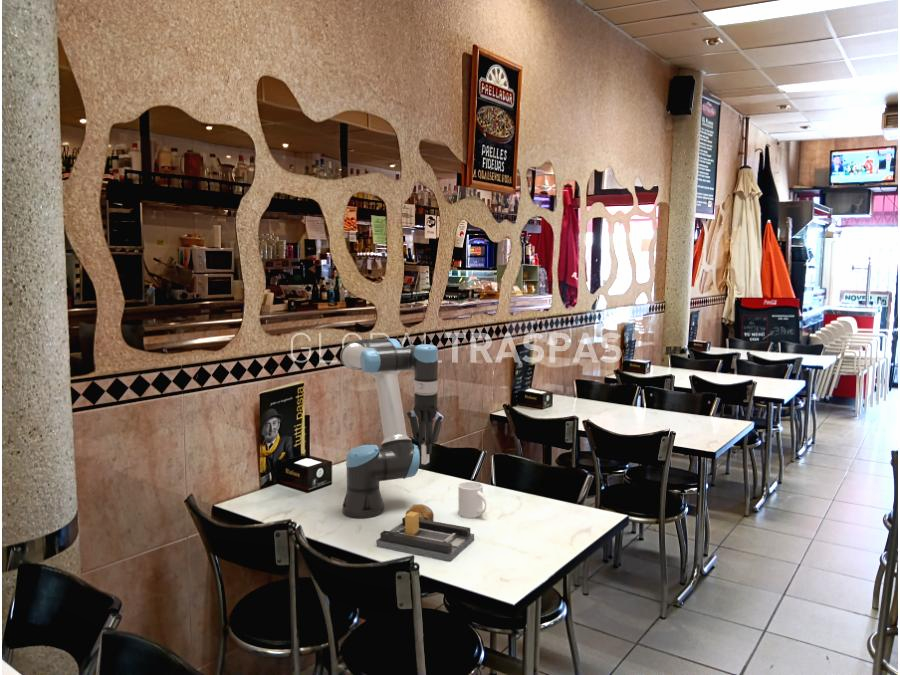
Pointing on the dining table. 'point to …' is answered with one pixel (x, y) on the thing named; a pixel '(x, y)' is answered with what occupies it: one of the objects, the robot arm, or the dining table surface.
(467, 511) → the mug
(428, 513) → the bread roll
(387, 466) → the robot arm
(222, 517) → the dining table surface
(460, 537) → the panel
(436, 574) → the dining table surface
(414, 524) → the lever
